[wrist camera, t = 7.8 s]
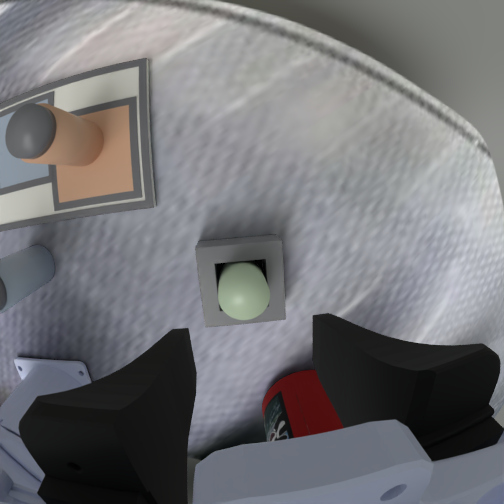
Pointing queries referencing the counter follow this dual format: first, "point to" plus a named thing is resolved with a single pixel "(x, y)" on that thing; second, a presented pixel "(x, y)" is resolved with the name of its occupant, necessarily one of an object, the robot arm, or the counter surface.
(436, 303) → the counter surface
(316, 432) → the beverage can
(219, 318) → the button housing
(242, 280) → the button
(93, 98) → the picture card
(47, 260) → the cylinder
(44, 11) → the counter surface
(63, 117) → the terracotta marker
